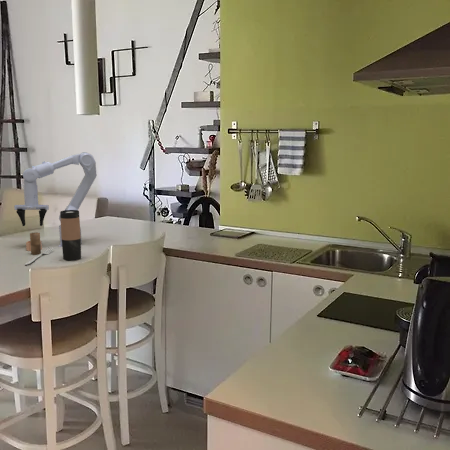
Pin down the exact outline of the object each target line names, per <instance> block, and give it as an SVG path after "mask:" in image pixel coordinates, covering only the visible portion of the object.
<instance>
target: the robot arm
mask: <svg viewBox="0 0 450 450" xmlns="http://www.w3.org/2000/svg"><path fill="white" fill-rule="evenodd" d="M69 165H75V166H76V165H77V166H79V165H80V166H81V167H82V169H83V170H82V171H83V172H84V175H83V177H82V179H81V182H80V184H79V185H78V187H77V188H76V190H75V192H74V194H73V196H72V198H71V199H70V201H69V202H68V204H67V206H66V208H64V210H78V211H79V209H80V207H81V205H82V203H83V202H84V200H85V198H86V197H87V195H88V192H89V191H90V189H91V187H92V185H93V184H94V181H95V180H96V178H97V162H96V159H95V157H94V156H93V155H92V154H91V153H89V152H81V153H76V154H71V155H69V156H66V157H64V158H62V159H59V160H56V161H54V162H50V161H42V162H41V163H40V164H37V165H35V166H34V165H32V166H31V167H29V168H26V169H24V171H23V173H22V177H23V197H24V198H23V199H24V204H15V205H14V207H13V208H14V211H16V214H17V216H18V217H19V219H20V222H21V225H22V227H25V226H26V210H27V211H28V210H29V211H32V210H34V211H35V210H36V211H38V215H39V217H38V218H39V226H40V227H43V225H44V220H45V216H46V214H47V211H48V210H49V209H50V206H49V204H39V196H38V195H39V192H38V189H39V188H38V183H37V179H42V178H45V177H47V176H49V175H53V174H54V171H56V170H58V169H61V168H64V167H67V166H69ZM58 217H59V218H58V219H59V221H60V223H61V220H60V215H59V216H58ZM58 229H59V231H58V232H59V245H58V246H57V247H60V248H62V239H61V224H60V225H59V226H58ZM80 234H81V235H82V228H81V227H80ZM82 239H83V238H81V244H82V243H83V241H82Z"/></svg>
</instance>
